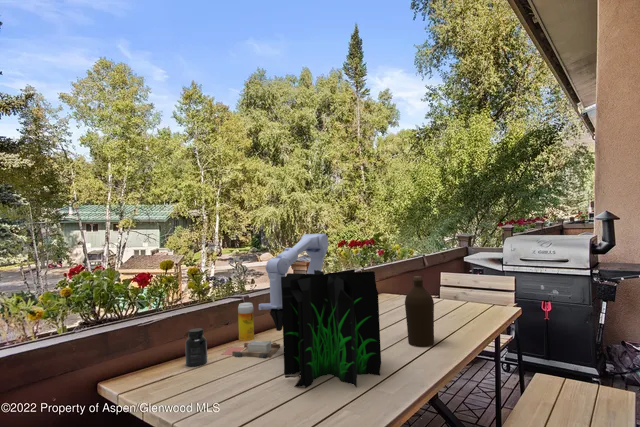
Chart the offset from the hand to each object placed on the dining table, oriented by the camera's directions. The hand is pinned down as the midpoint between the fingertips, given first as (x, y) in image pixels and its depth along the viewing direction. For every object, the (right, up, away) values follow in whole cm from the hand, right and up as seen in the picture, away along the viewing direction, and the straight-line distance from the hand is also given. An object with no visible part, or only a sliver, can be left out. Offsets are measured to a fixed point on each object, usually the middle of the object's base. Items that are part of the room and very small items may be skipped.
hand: (279, 330), depth 133 cm
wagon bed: (-8, -9, +1) cm, 12 cm away
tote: (-7, -8, +1) cm, 11 cm away
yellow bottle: (-15, -11, +19) cm, 27 cm away
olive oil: (+53, -8, +8) cm, 54 cm away
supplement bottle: (-27, -10, -8) cm, 30 cm away
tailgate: (-15, -9, +3) cm, 17 cm away
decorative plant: (+18, -8, -16) cm, 26 cm away
